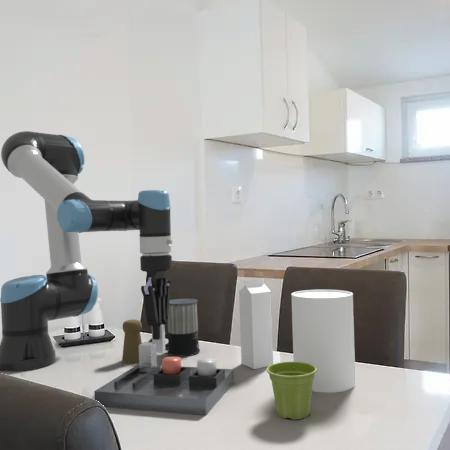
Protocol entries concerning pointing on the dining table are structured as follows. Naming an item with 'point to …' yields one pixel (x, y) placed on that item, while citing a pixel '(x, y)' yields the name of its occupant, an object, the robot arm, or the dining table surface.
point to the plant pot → (292, 388)
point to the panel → (166, 390)
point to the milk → (256, 324)
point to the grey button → (207, 367)
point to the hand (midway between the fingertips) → (159, 351)
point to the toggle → (147, 356)
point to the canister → (325, 337)
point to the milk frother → (182, 327)
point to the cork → (131, 341)
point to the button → (171, 365)
